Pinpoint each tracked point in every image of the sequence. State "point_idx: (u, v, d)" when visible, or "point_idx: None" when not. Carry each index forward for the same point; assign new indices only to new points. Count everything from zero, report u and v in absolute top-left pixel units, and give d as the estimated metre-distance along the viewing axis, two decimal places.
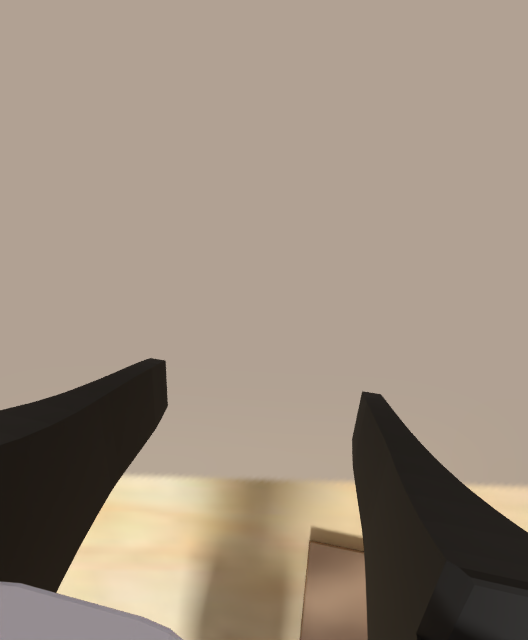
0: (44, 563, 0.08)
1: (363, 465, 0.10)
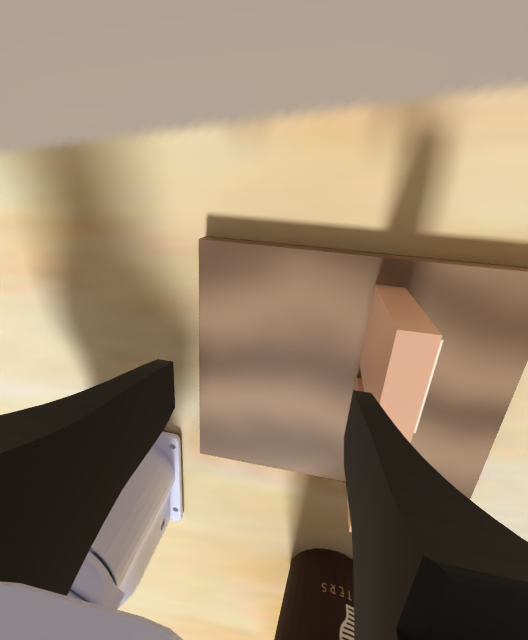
0: (56, 566, 0.08)
1: (353, 463, 0.10)
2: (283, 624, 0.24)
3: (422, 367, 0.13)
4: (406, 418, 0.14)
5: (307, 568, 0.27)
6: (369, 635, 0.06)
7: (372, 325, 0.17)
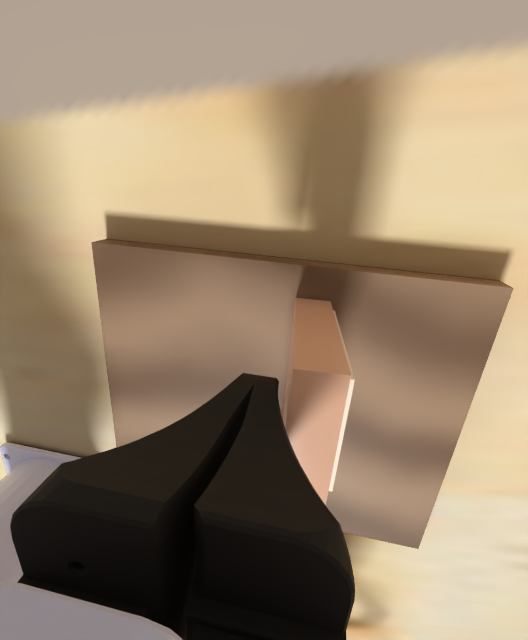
0: None
1: None
2: None
3: (330, 415, 0.10)
4: (317, 477, 0.11)
5: None
6: None
7: None
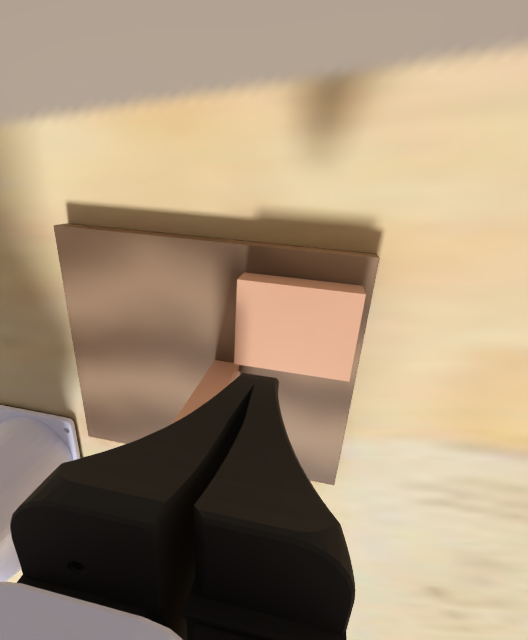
0: None
1: None
2: None
3: None
4: None
5: None
6: None
7: (266, 315, 0.18)
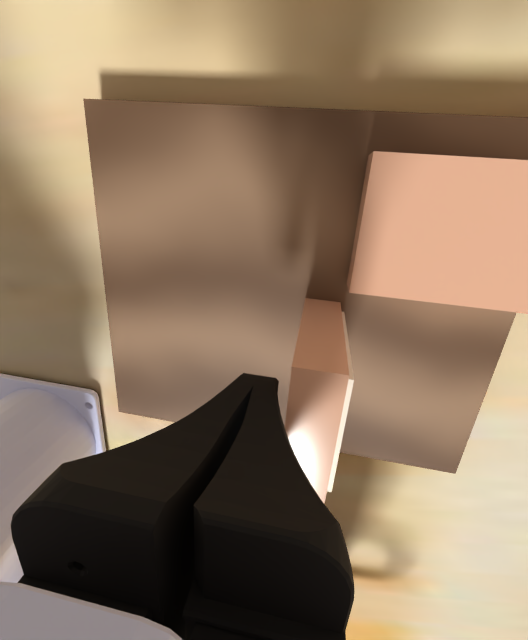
0: None
1: None
2: None
3: None
4: None
5: None
6: None
7: (413, 211, 0.12)
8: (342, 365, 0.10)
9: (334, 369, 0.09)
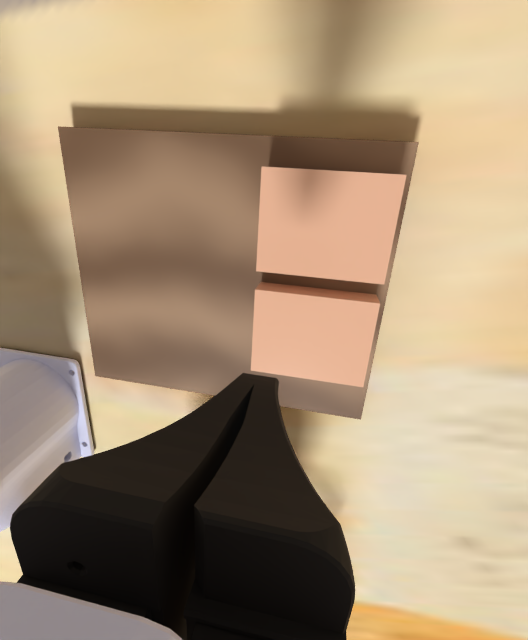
0: None
1: None
2: None
3: None
4: None
5: None
6: None
7: (293, 209, 0.16)
8: (367, 294, 0.18)
9: (373, 296, 0.18)
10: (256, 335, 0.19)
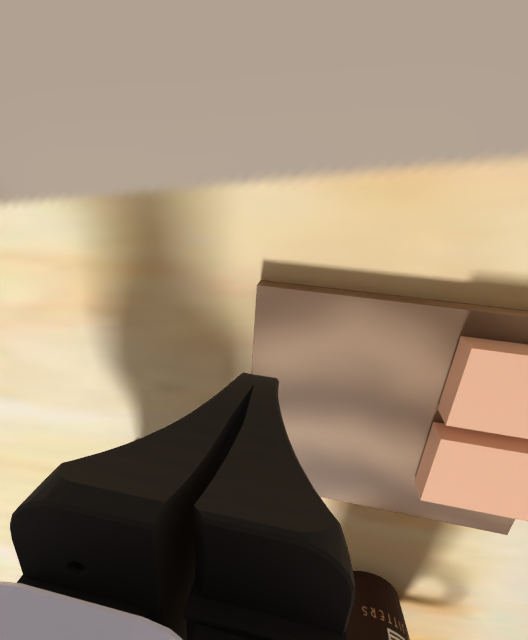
0: None
1: None
2: None
3: None
4: None
5: None
6: None
7: (495, 382, 0.18)
8: None
9: None
10: (433, 474, 0.21)
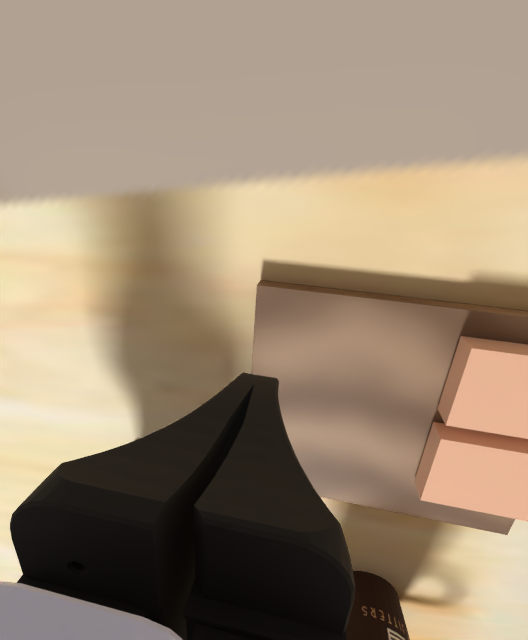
0: None
1: None
2: None
3: None
4: None
5: None
6: None
7: (495, 382, 0.18)
8: None
9: None
10: (433, 474, 0.21)
